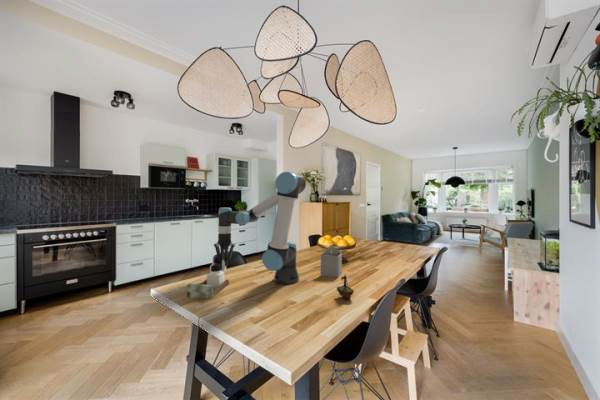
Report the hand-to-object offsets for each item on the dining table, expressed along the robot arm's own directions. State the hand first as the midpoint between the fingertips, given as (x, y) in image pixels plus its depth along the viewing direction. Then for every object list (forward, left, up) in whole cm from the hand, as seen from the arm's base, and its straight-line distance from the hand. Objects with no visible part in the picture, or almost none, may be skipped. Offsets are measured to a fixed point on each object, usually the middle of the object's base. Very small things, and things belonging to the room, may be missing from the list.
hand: (224, 271), depth 146 cm
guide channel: (0, +18, -5) cm, 19 cm away
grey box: (-67, -17, -5) cm, 70 cm away
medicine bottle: (0, +11, -5) cm, 12 cm away
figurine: (-72, +17, -5) cm, 74 cm away
